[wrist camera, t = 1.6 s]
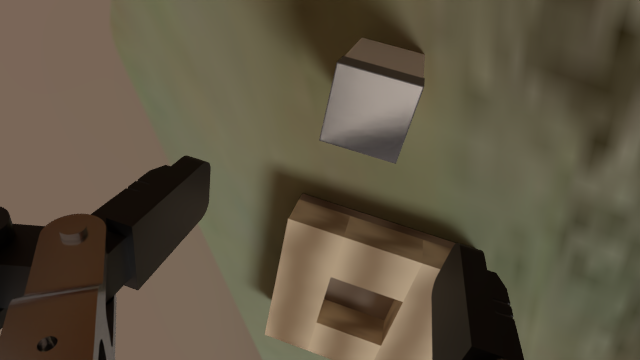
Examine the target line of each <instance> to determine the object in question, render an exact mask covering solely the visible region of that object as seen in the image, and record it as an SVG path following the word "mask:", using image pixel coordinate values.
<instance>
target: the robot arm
mask: <svg viewBox="0 0 640 360" xmlns="http://www.w3.org/2000/svg"><path fill="white" fill-rule="evenodd" d="M209 188H210V164H209V163H208V162H206V161H202V160H199V159H196V158H193V157H190V156H184V157H182V158H181V159H180V160H178V161H177V162H176V163H174V164H173V165H172V166H167V165H164V166H162V167H159V168H156V169H153V170H150V171H149V172H147V173H146V174H145V175H143V176H142V177H141V178H139V179H138V181H135V182H134V183H133V184H131V185H130V186H129V187H128V189H124V190H123V191H122V192H120V193H119V194H118V195H116V196H115V197H114V198H112V199H111V200H110V201H108V202H107V203H106V204H104V205H103V206H102V207H100V208H99V209H97V210H96V211H95V212H93V213H92V214H91V215H89V214H72V215H67V216H63V217H60V218H58V219H56V220H54V221H52V222H50V223H49V224H47V225H46V226H34V225H33V226H32V225H21V224H12V221H11V218H10V215H9V213H8V211H7V210H6V209H4V208H2V207H0V329H1V328H2V331H1V335H0V360H115V334H116V293H117V292H118V291H119V289H120V288H121V287H122V286H123V285H125V286H128V287H130V288H133V289H136V290H139V289H140V288H141V286H142V285H143V284H144V283H145V282H146V281H147V280H148V279H149V277H150V276H151V275H152V274H153V273H154V272H155V271H156V270H157V268H158V267H159V266H160V265H161V264H162V263H163V262H164V260H165V259H166V258H167V257H168V256H169V255H170V254H171V253H172V252H173V250H174V249H175V248H176V247H177V246H178V245H179V244H180V242H181V241H182V240H183V239H184V238H185V237H186V236H187V235H188V233H189V232H190V231H191V230H192V229H193V228H194V227H195V225H196V224H197V223H198V222H199V221H200V220H201V219H202V217H203V216H204V214H205V212H206V210H207V207H208V203H209ZM431 303H432V360H524V357H523V353H522V349H521V345H520V341H519V337H518V333H517V329H516V325H515V321H514V319H513V313H512V309H511V307H510V301H509V297H508V293H507V288H506V287H505V285H504V284H503V283H502V281H501V280H500V278H499V277H498V275H497V274H496V273H495V272H491V271H488V270H487V267H486V261H485V256H484V253H483V251H481V250H478V249H475V248H472V247H469V246H466V245H463V244H460V243H456V244H455V245H454V246H453V247H452V249H451V251H450V253H449V255H448V257H447V258H446V260H445V262H444V264H443V266H442V268H441V269H440V271H439V273H438V275H437V277H436V279H435V282H434V285H433V289H432V296H431Z"/></svg>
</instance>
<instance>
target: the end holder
mask: <svg viewBox="0 0 640 360" xmlns="http://www.w3.org/2000/svg"><path fill="white" fill-rule="evenodd" d="M455 244H456V243H454V242H451V241H448V240H445V239H442V238H439V237H436V236H432V235H429V234H426V233H423V232H420V231H417V230H414V229H411V228H408V227H405V226H402V225H399V224H395V223H392V222H389V221H386V220H383V219H380V218H377V217H374V216H371V215H368V214H365V213H362V212H358V211H355V210H352V209H349V208H346V207H343V206H340V205H337V204H334V203H331V202H328V201H324V200H321V199H318V198H315V197H312V196H309V195H306V194H303V193H302V195H301V197H300V198H299V200H298V202H297V204H296V206H295V207H294V209H293V211H292V213H291V215H290V216H289V218H288V222H287V227H286V232H285V237H284V242H283V247H282V252H281V257H280V262H279V267H278V272H277V277H276V282H275V287H274V292H273V297H272V301H271V306H270V311H269V316H268V321H267V326H266V331H265V335H267V336H270V337H273V338H276V339H278V340H281V341H284V342H286V343H289V344H292V345H294V346H297V347H300V348H302V349H305V350H308V351H310V352H313V353H316V354H319V355H321V356H324V357H327V358H329V359H332V360H432V303H431V296H432V289H433V285H434V282H435V279H436V277H437V275H438V273H439V271H440V269H441V268H442V266H443V264H444V262H445V260H446V258H447V257H448V255H449V253H450V251H451V249H452V247H453V246H454V245H455Z"/></svg>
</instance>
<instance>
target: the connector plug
mask: <svg viewBox="0 0 640 360" xmlns="http://www.w3.org/2000/svg"><path fill="white" fill-rule="evenodd" d="M424 60H425V54H421V53H417V52H414V51H410V50H406V49H403V48H399V47H395V46H392V45H388V44H384V43H381V42H377V41H373V40H370V39H366V38H361V39H360V40H359V41H358V42H357V43H356V44H355V45H354V46H353V47H352V48H351V50H350V51H349V52H348V53H347V54H346V55H345V56H342V57H341V58H340V59H339V61H338V62H337V64H336V69H335V73H334V77H333V82H332V86H331V91H330V95H329V99H328V104H327V108H326V113H325V117H324V122H323V126H322V130H321V135H320V139H319V140H320V141H323V142H326V143H330V144H333V145H336V146H339V147H343V148H346V149H349V150H353V151H356V152H359V153H362V154H366V155H369V156H372V157H375V158H379V159H382V160H385V161H388V162H392V163H395V164H396V162H397V159H398V156H399V154H400V151H401V148H402V145H403V143H404V140H405V137H406V135H407V132H408V129H409V126H410V124H411V121H412V118H413V116H414V113H415V110H416V107H417V105H418V102H419V99H420V97H421V94H422V91H423V88H424V79H425V78H423V76H424Z"/></svg>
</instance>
